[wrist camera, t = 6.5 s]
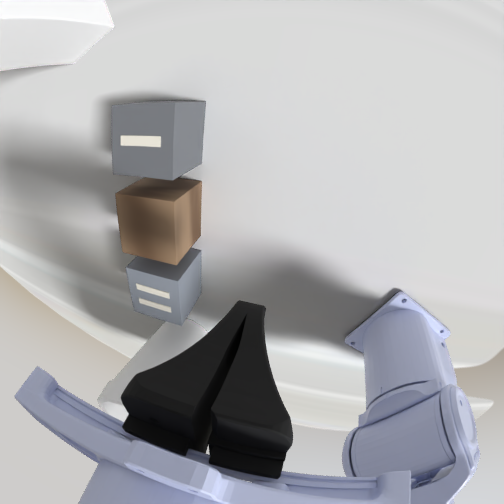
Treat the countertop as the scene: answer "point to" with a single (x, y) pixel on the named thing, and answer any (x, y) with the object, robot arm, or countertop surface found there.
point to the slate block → (165, 286)
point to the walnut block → (159, 218)
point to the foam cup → (149, 361)
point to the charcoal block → (157, 138)
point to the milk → (50, 31)
